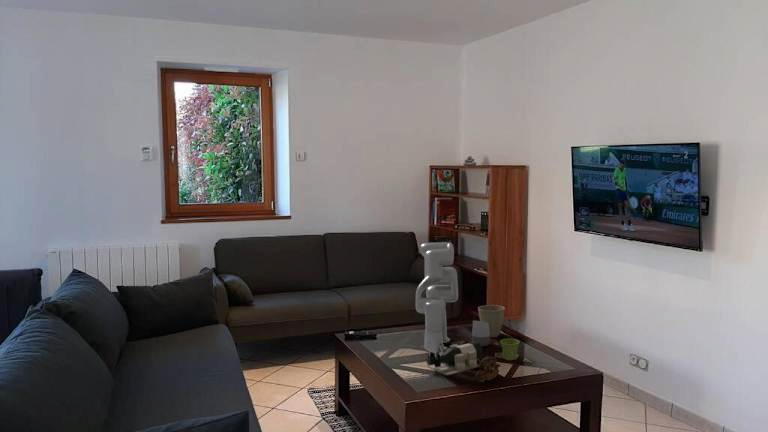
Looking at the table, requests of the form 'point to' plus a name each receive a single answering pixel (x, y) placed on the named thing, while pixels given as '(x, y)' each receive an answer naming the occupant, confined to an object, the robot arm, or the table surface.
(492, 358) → the wooden carving
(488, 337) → the smart speaker
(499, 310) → the plant pot
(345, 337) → the table surface
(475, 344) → the wine bottle
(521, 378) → the table surface
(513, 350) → the plant pot
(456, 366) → the rest
